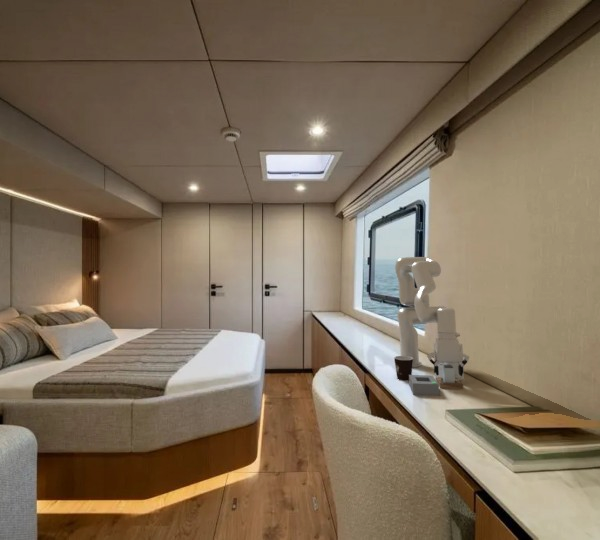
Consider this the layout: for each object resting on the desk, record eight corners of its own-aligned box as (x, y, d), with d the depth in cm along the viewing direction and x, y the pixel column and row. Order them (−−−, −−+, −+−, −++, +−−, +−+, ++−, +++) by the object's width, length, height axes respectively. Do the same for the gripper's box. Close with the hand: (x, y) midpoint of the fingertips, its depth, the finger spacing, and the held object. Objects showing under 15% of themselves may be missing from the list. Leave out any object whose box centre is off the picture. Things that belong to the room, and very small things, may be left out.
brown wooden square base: (435, 382, 147) (435, 377, 147) (457, 383, 145) (456, 378, 145) (440, 389, 138) (440, 383, 138) (462, 390, 136) (462, 384, 136)
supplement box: (450, 374, 158) (449, 340, 159) (464, 380, 149) (463, 343, 150) (434, 376, 156) (432, 341, 156) (447, 382, 147) (446, 345, 147)
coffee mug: (415, 382, 148) (414, 360, 149) (395, 381, 150) (394, 359, 150) (411, 374, 160) (410, 354, 160) (393, 374, 161) (392, 354, 162)
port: (409, 386, 143) (408, 373, 143) (433, 387, 141) (432, 374, 141) (413, 395, 131) (412, 382, 131) (439, 396, 129) (438, 383, 129)
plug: (442, 383, 144) (442, 364, 144) (452, 384, 143) (451, 364, 143) (445, 386, 140) (444, 366, 140) (454, 386, 139) (454, 367, 139)
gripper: (465, 334, 144) (467, 373, 143) (424, 334, 147) (426, 372, 147) (470, 337, 137) (472, 378, 136) (427, 337, 140) (429, 376, 139)
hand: (448, 374), depth 141 cm, fingers open, 9 cm apart
